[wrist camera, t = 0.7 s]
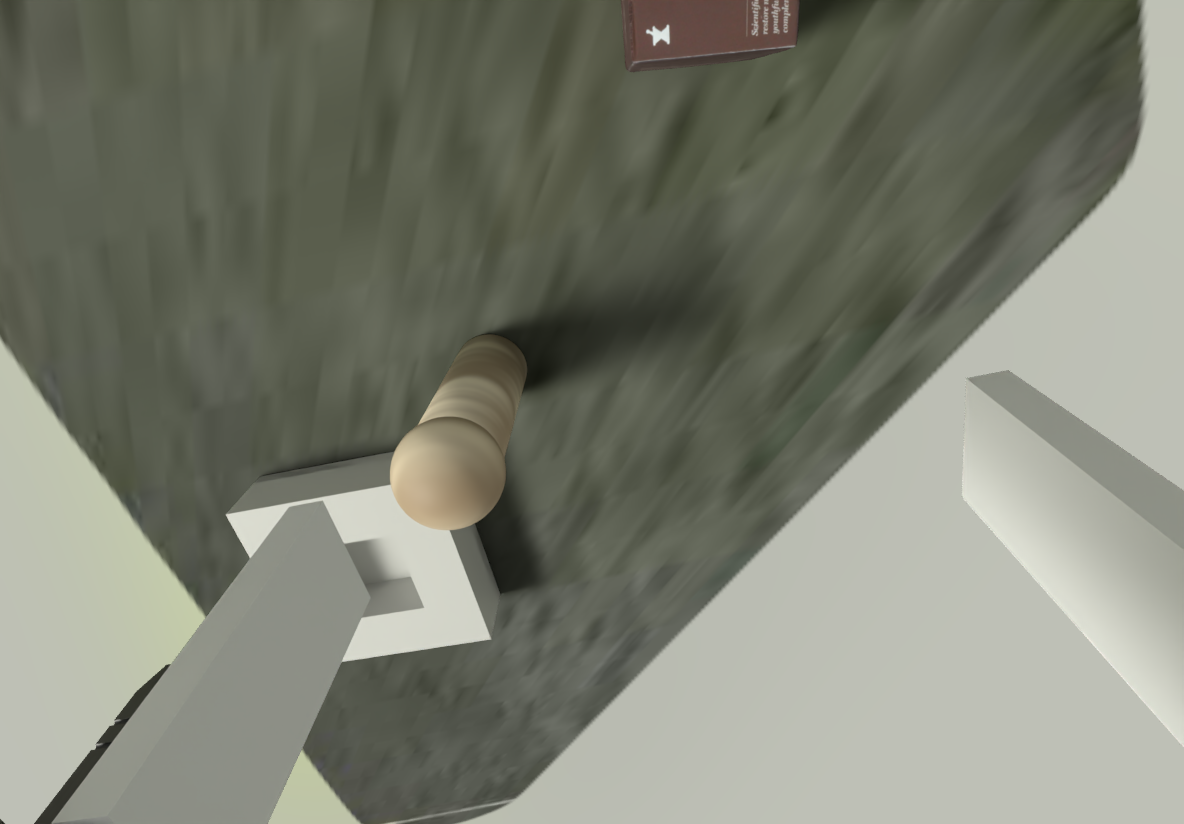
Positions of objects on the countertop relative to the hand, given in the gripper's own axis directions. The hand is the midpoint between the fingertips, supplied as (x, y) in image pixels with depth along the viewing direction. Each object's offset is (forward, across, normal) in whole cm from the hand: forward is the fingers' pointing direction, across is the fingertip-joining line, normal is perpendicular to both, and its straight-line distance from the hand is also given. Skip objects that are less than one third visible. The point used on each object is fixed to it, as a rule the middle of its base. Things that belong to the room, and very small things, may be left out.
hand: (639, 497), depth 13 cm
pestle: (+22, -8, -5) cm, 24 cm away
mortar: (+22, -18, -15) cm, 32 cm away
